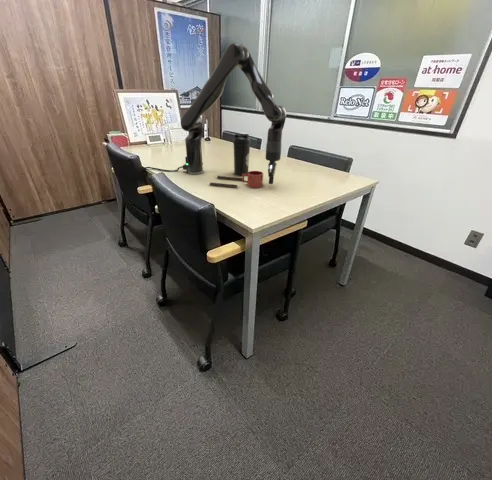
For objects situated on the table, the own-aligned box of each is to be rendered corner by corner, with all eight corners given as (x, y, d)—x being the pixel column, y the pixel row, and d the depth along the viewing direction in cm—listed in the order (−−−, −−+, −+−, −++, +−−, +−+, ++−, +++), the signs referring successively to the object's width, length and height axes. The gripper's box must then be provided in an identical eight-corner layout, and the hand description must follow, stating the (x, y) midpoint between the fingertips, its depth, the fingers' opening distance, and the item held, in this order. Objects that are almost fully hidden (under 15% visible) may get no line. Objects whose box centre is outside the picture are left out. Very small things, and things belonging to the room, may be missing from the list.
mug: (263, 184, 146) (264, 171, 143) (261, 188, 139) (261, 175, 136) (243, 182, 149) (244, 169, 145) (240, 186, 142) (240, 173, 138)
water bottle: (247, 177, 157) (249, 135, 145) (231, 175, 159) (231, 135, 147) (250, 172, 166) (252, 133, 154) (234, 171, 167) (235, 132, 156)
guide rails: (209, 185, 143) (209, 182, 142) (217, 178, 154) (217, 175, 154) (236, 188, 140) (236, 185, 139) (242, 180, 151) (242, 177, 150)
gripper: (268, 146, 138) (266, 179, 147) (263, 152, 127) (261, 186, 136) (282, 147, 137) (279, 180, 146) (279, 153, 126) (276, 188, 135)
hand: (270, 183), depth 141 cm, fingers closed
